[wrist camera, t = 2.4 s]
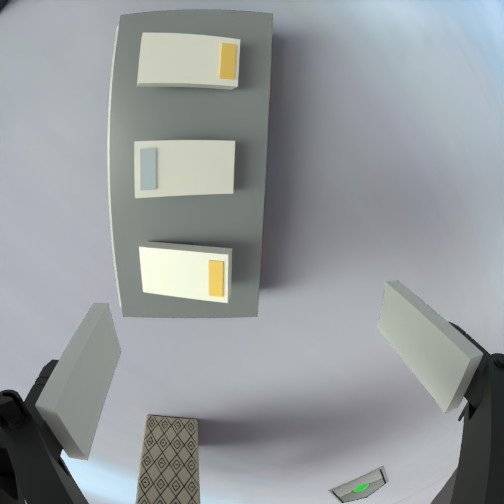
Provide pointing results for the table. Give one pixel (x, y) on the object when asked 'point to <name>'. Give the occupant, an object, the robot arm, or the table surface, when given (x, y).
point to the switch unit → (190, 128)
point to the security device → (360, 486)
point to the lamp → (169, 462)
